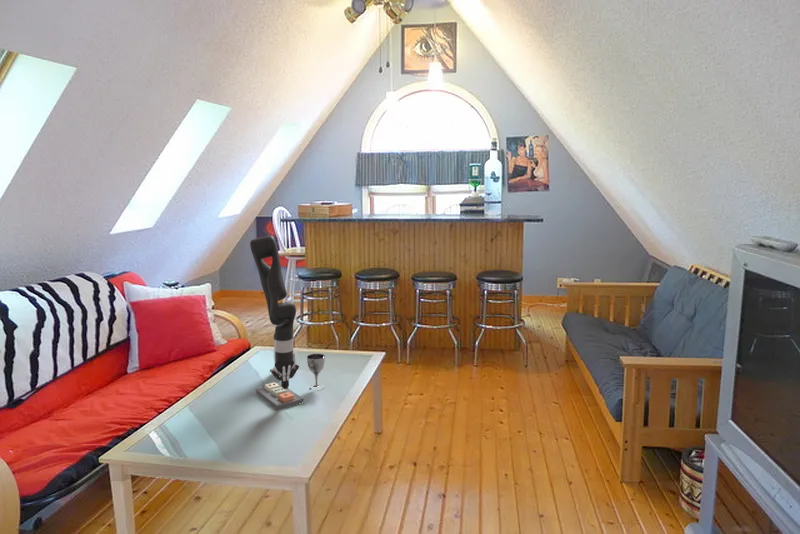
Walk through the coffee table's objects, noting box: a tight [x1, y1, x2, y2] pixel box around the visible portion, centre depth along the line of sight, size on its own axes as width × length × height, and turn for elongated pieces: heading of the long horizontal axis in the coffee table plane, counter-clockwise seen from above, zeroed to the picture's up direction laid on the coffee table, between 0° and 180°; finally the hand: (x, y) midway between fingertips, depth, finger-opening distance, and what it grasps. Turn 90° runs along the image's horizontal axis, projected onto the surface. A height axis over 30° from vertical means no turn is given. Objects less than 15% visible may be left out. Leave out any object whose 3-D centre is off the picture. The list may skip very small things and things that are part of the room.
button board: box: [255, 382, 304, 411], centre depth 242 cm, size 12×22×2 cm, turn 37°
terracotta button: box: [279, 392, 294, 403], centre depth 236 cm, size 5×5×3 cm
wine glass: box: [306, 353, 326, 387], centre depth 253 cm, size 8×8×15 cm
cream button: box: [264, 381, 280, 392], centre depth 247 cm, size 5×5×3 cm
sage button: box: [272, 387, 287, 397], centre depth 242 cm, size 5×5×3 cm
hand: (285, 388), depth 235 cm, fingers closed
